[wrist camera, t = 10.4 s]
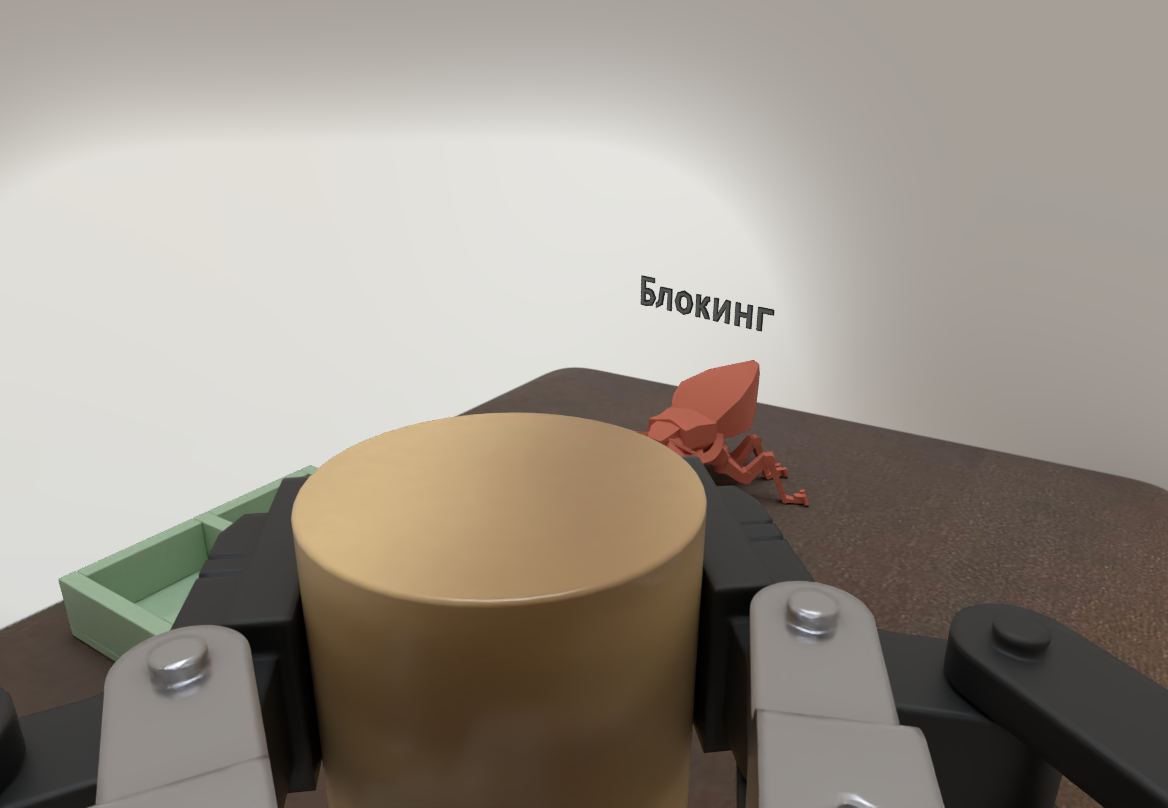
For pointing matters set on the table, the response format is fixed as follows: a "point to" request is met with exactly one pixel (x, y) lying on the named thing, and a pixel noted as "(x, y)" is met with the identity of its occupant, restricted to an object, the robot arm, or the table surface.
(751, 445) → the beetle
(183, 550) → the grid
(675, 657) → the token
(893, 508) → the table surface
